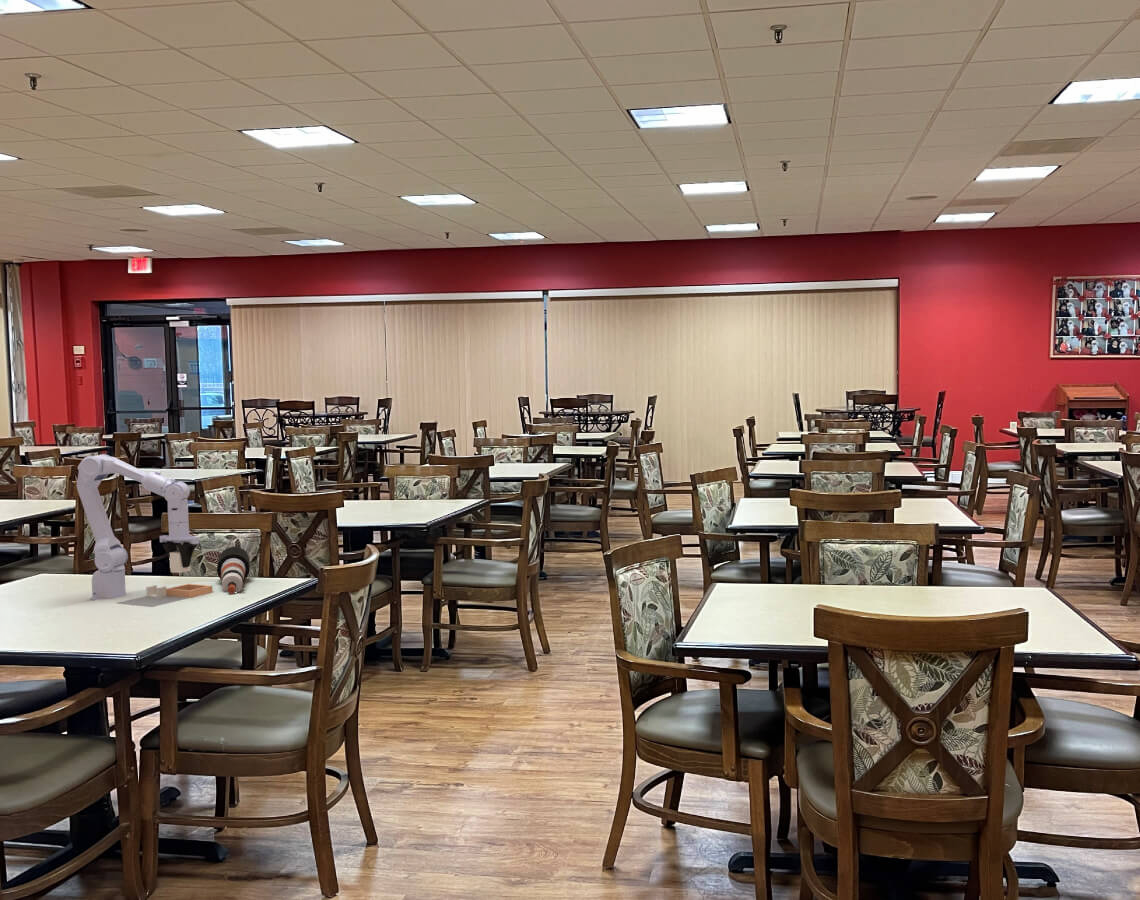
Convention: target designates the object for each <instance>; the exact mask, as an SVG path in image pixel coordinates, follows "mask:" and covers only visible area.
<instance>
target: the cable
mask: <svg viewBox="0 0 1140 900" xmlns="http://www.w3.org/2000/svg"><path fill="white" fill-rule="evenodd" d="M250 559H251V558H250V555H249V553H248V552H247V551H246V550H245V549H244V548H241V547H239V546H230V547H227V548H225V549H223V550H222V551H221V552H220V554H219V556H218V559H217V565H216V573H217V576H218V578H219V579H220V581H221V590H222V591H223V592H224V593H228V594H230V595H231V594H235V593H234V592H238V593H240V591H241V590H242V588H243V585H244V584H243V582H244V581H245V580H246V579H247V578H248V576H249V574H250V572H251V570H250V565H251V560H250Z"/></svg>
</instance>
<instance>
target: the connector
mask: <svg viewBox="0 0 1140 900" xmlns="http://www.w3.org/2000/svg"><path fill="white" fill-rule="evenodd" d="M169 565H170V566H169V567H170V573H177V574H181V573H185V572H190V571H191V565H190V566H189V567H185V568H183V566H182V560H181V554H180V551H179V548H178V545H177V551H175V552H170V559H169Z"/></svg>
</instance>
